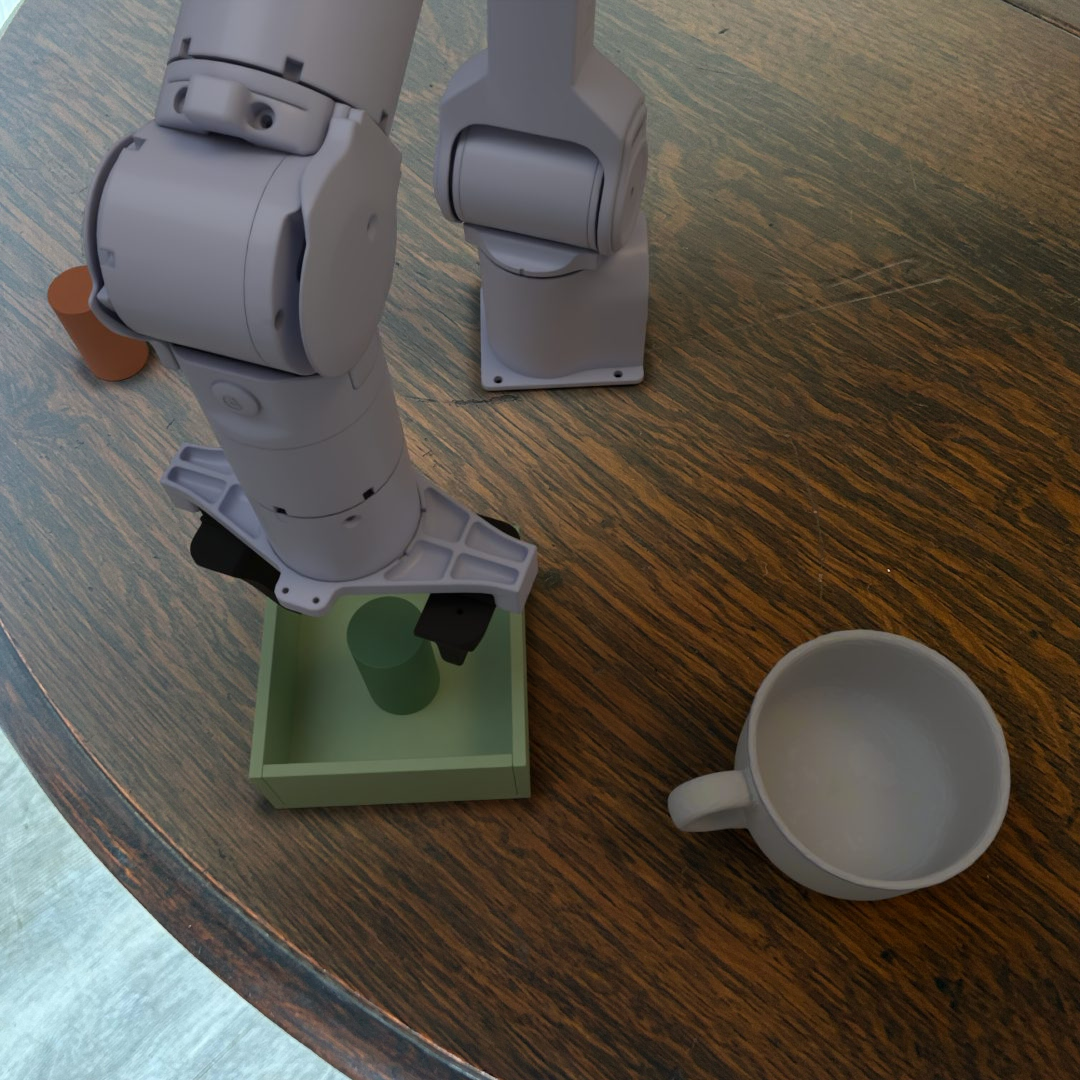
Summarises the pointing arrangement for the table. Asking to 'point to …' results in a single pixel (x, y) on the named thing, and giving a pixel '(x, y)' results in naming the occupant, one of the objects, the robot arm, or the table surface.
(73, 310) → the terracotta peg
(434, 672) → the green peg
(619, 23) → the table surface
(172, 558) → the table surface
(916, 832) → the teacup
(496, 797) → the green bin
